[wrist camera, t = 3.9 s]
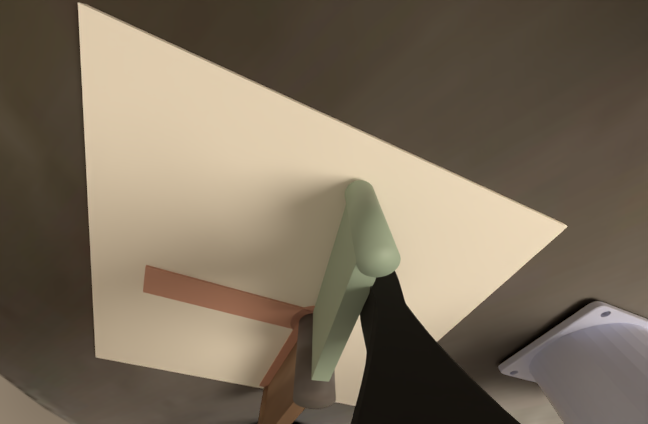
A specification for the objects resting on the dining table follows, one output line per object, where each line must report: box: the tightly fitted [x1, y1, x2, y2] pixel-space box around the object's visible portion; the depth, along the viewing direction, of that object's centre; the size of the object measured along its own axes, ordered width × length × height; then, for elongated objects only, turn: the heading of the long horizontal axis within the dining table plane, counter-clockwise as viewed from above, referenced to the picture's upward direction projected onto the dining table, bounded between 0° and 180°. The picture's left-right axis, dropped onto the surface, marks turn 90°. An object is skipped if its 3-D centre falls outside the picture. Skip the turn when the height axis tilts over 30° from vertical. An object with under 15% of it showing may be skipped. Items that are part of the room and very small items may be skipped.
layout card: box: [78, 3, 568, 406], centre depth 14 cm, size 20×20×1 cm
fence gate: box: [311, 180, 401, 382], centre depth 11 cm, size 1×8×4 cm, turn 168°
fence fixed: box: [258, 313, 336, 424], centre depth 16 cm, size 2×10×4 cm, turn 157°
